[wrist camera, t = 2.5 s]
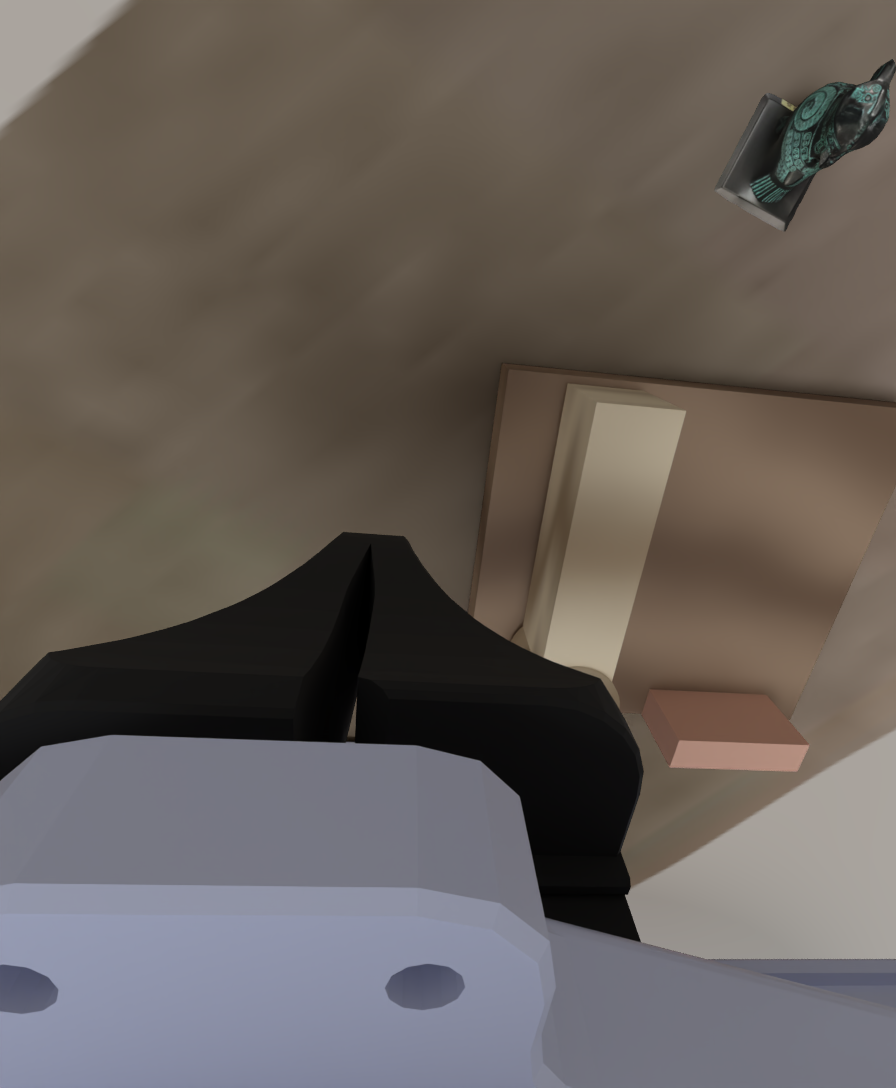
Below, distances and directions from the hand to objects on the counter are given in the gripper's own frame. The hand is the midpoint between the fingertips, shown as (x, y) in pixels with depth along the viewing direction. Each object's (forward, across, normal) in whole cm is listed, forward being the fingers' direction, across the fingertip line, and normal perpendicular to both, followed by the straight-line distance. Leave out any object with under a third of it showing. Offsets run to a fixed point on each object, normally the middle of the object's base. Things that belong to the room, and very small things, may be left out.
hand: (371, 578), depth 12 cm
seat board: (+9, -10, +3) cm, 14 cm away
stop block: (+7, -14, +9) cm, 18 cm away
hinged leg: (+7, -6, +2) cm, 10 cm away
